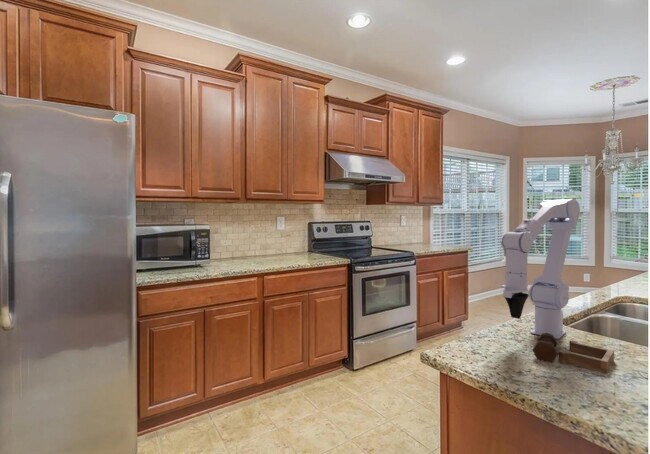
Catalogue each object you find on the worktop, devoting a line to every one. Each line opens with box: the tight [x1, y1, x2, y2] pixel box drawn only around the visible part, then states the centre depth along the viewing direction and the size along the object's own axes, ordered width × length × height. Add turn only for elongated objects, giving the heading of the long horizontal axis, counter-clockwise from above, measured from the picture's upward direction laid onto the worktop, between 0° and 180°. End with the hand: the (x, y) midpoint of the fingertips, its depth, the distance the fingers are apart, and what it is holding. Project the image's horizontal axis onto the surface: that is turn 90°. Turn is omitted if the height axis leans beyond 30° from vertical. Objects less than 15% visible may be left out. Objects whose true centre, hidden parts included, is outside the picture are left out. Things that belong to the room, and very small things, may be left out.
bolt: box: [532, 333, 559, 363], centre depth 97 cm, size 6×5×15 cm
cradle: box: [557, 339, 615, 374], centre depth 91 cm, size 13×10×3 cm
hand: (515, 317), depth 103 cm, fingers closed
